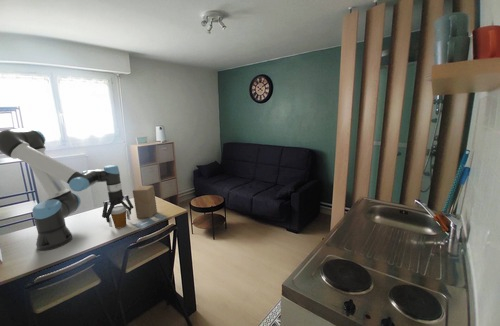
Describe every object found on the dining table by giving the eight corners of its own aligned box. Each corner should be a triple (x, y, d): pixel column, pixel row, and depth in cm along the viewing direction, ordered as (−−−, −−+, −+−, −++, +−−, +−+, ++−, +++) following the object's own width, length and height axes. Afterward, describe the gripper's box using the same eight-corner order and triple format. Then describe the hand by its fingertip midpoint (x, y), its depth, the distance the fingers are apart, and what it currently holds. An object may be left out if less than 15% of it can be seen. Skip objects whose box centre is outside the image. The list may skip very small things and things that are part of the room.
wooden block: (150, 217, 150) (147, 189, 146) (136, 218, 150) (132, 190, 146) (157, 211, 160) (153, 185, 156) (143, 211, 160) (139, 185, 156)
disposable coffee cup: (128, 227, 138) (125, 209, 136) (111, 230, 135) (107, 212, 132) (129, 220, 147) (126, 204, 144) (113, 224, 143) (110, 206, 140)
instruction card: (141, 229, 136) (141, 228, 136) (133, 224, 141) (133, 224, 141) (167, 217, 150) (167, 217, 150) (158, 214, 156) (158, 213, 155)
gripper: (96, 197, 124) (102, 232, 129) (136, 186, 142) (140, 217, 147) (91, 194, 128) (97, 228, 133) (130, 184, 147) (135, 214, 152)
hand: (120, 222), depth 140 cm, fingers open, 10 cm apart
